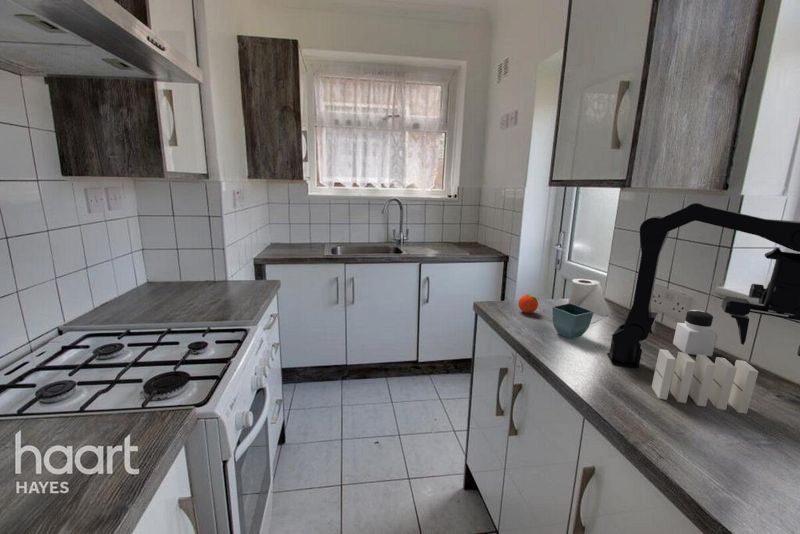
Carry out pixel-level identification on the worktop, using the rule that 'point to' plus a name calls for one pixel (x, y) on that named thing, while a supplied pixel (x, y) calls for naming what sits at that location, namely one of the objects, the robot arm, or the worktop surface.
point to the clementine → (528, 303)
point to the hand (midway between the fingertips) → (769, 349)
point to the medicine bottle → (696, 334)
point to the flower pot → (571, 320)
